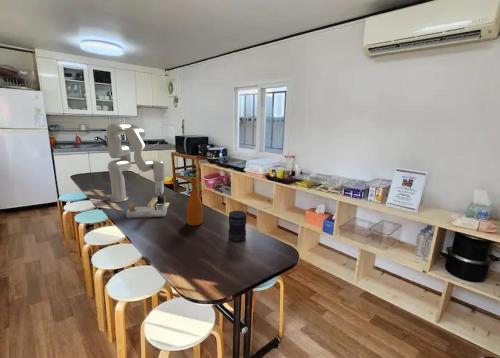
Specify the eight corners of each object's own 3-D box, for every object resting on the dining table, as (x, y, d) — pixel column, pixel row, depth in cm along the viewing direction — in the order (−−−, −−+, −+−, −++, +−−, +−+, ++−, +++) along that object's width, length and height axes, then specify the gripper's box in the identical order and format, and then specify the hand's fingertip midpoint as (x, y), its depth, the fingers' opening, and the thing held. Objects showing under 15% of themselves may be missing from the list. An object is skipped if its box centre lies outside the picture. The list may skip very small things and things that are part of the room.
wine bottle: (205, 222, 161) (205, 176, 154) (196, 227, 152) (195, 180, 145) (193, 219, 165) (192, 174, 158) (183, 224, 156) (182, 177, 149)
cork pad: (151, 209, 180) (151, 207, 180) (154, 203, 190) (154, 202, 190) (167, 208, 182) (167, 207, 182) (169, 203, 192) (169, 202, 192)
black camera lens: (239, 244, 133) (240, 218, 130) (224, 239, 138) (224, 214, 135) (249, 237, 141) (250, 213, 138) (235, 233, 146) (235, 209, 143)
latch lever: (151, 208, 155) (151, 204, 154) (147, 208, 155) (147, 204, 154) (157, 200, 170) (157, 196, 169) (154, 200, 169) (153, 196, 169)
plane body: (126, 217, 163) (125, 204, 161) (130, 212, 172) (129, 199, 170) (165, 216, 168) (164, 203, 165) (166, 211, 176) (166, 199, 174)
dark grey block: (155, 204, 182) (155, 197, 181) (157, 201, 187) (156, 195, 186) (164, 203, 184) (164, 197, 182) (165, 201, 188) (165, 195, 187)
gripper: (155, 175, 188) (157, 198, 193) (151, 181, 172) (153, 205, 176) (166, 175, 190) (167, 198, 194) (162, 180, 174) (164, 205, 178)
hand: (160, 201), depth 185 cm, fingers closed on dark grey block, 5 cm apart
